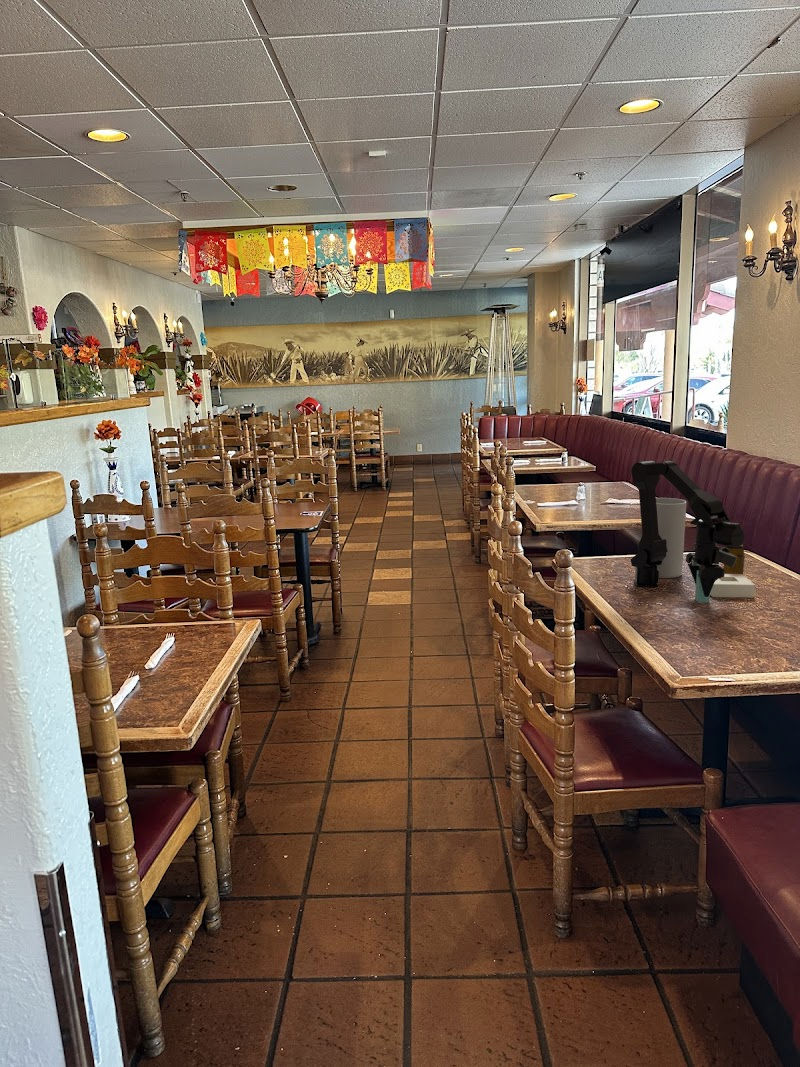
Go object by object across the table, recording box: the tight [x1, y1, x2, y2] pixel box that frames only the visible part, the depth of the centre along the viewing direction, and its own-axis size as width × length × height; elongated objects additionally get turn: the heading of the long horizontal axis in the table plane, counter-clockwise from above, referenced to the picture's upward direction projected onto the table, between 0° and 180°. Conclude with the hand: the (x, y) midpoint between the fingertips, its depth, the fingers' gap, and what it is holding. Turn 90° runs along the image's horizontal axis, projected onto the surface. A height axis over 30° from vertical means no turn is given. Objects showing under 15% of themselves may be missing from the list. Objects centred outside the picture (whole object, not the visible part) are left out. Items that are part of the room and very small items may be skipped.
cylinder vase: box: [656, 497, 687, 579], centre depth 245 cm, size 12×12×25 cm
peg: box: [694, 570, 711, 604], centre depth 217 cm, size 3×3×9 cm
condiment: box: [722, 544, 754, 583], centre depth 236 cm, size 7×8×12 cm
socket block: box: [710, 574, 756, 599], centre depth 226 cm, size 12×12×4 cm
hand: (702, 592), depth 217 cm, fingers open, 8 cm apart
